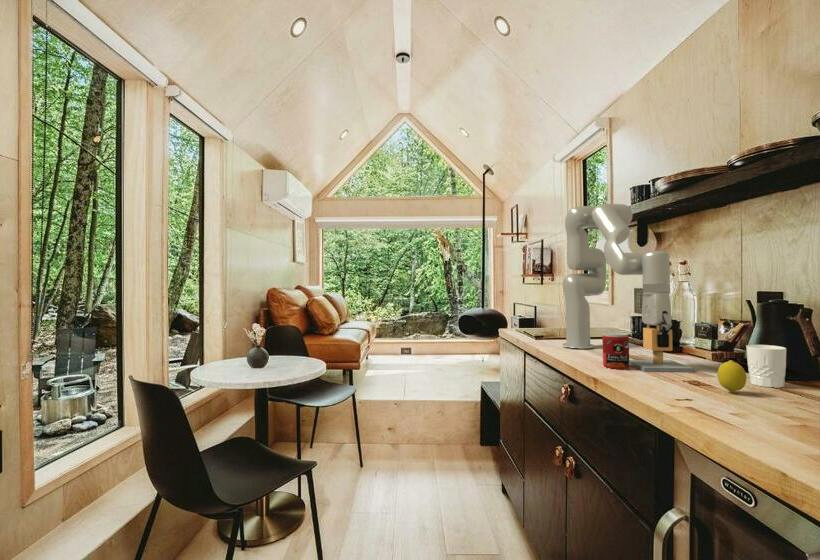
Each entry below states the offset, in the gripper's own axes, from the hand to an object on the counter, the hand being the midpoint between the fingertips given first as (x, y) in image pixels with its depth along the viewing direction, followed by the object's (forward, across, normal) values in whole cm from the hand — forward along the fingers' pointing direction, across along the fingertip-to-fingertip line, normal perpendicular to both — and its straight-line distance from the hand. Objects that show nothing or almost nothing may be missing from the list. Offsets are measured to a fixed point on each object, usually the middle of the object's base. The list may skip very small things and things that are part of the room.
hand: (657, 345), depth 128 cm
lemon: (+8, +30, +3) cm, 31 cm away
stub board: (+7, 0, 0) cm, 7 cm away
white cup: (+8, +21, +17) cm, 28 cm away
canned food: (+7, 0, -13) cm, 15 cm away
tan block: (+1, 0, 0) cm, 1 cm away
